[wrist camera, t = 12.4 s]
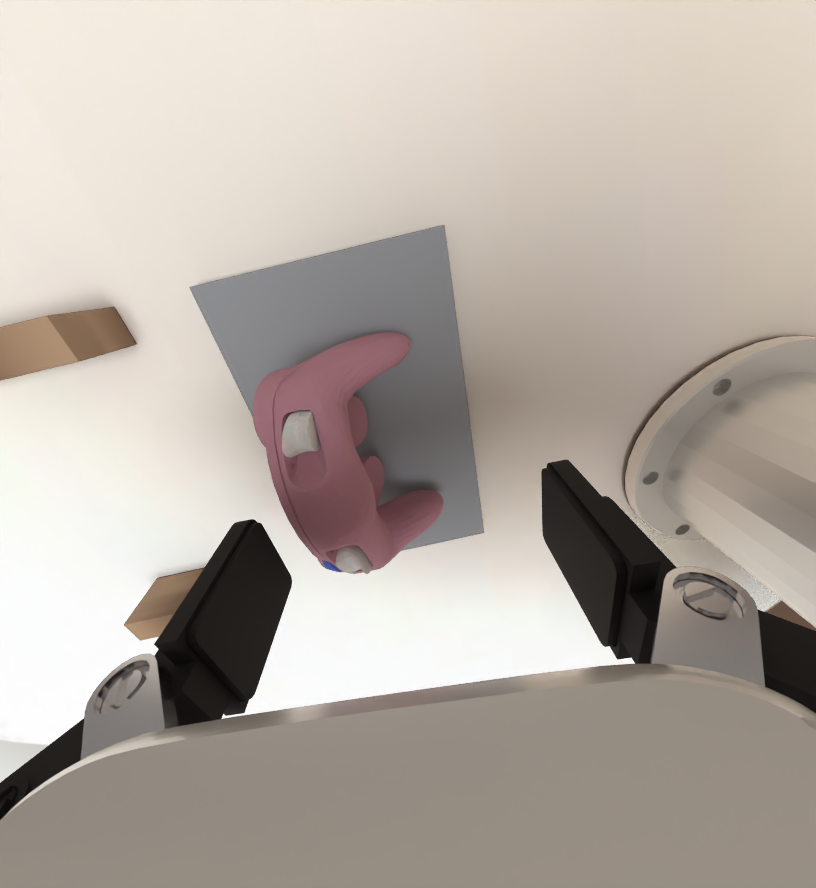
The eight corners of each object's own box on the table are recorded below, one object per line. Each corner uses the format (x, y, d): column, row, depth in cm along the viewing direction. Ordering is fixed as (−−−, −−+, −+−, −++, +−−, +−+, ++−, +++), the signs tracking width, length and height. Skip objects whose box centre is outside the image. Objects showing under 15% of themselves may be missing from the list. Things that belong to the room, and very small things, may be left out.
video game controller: (325, 334, 15) (192, 394, 10) (415, 318, 13) (312, 384, 8) (379, 497, 20) (310, 600, 14) (450, 504, 18) (403, 626, 12)
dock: (114, 307, 13) (46, 316, 10) (274, 570, 21) (259, 614, 18) (-49, 346, 13) (-156, 365, 10) (170, 593, 21) (140, 640, 18)
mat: (441, 226, 13) (444, 225, 12) (481, 525, 20) (484, 532, 20) (197, 286, 13) (189, 287, 12) (327, 559, 20) (326, 567, 20)
